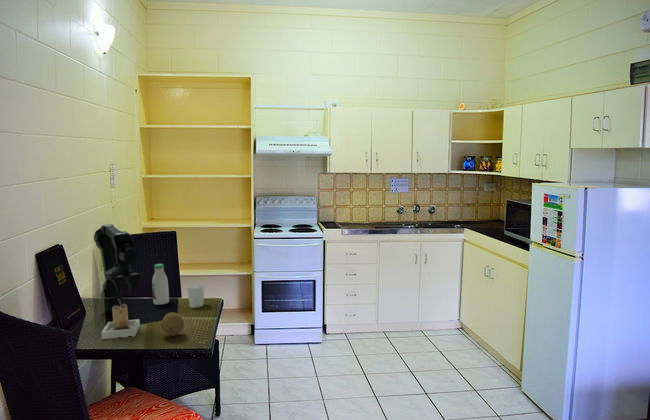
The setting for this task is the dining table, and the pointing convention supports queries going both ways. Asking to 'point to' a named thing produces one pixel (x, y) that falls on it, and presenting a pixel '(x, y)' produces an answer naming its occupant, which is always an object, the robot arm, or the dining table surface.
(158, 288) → the milk bottle
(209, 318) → the dining table surface
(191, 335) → the dining table surface
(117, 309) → the spout can
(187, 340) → the dining table surface
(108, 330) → the tray
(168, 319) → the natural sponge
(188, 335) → the dining table surface
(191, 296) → the white cup
